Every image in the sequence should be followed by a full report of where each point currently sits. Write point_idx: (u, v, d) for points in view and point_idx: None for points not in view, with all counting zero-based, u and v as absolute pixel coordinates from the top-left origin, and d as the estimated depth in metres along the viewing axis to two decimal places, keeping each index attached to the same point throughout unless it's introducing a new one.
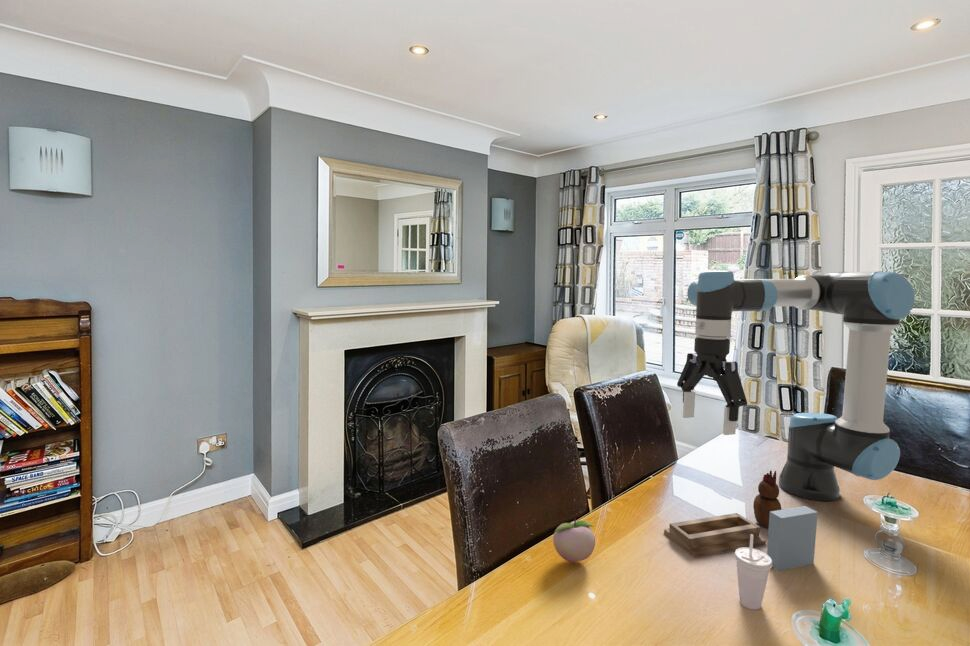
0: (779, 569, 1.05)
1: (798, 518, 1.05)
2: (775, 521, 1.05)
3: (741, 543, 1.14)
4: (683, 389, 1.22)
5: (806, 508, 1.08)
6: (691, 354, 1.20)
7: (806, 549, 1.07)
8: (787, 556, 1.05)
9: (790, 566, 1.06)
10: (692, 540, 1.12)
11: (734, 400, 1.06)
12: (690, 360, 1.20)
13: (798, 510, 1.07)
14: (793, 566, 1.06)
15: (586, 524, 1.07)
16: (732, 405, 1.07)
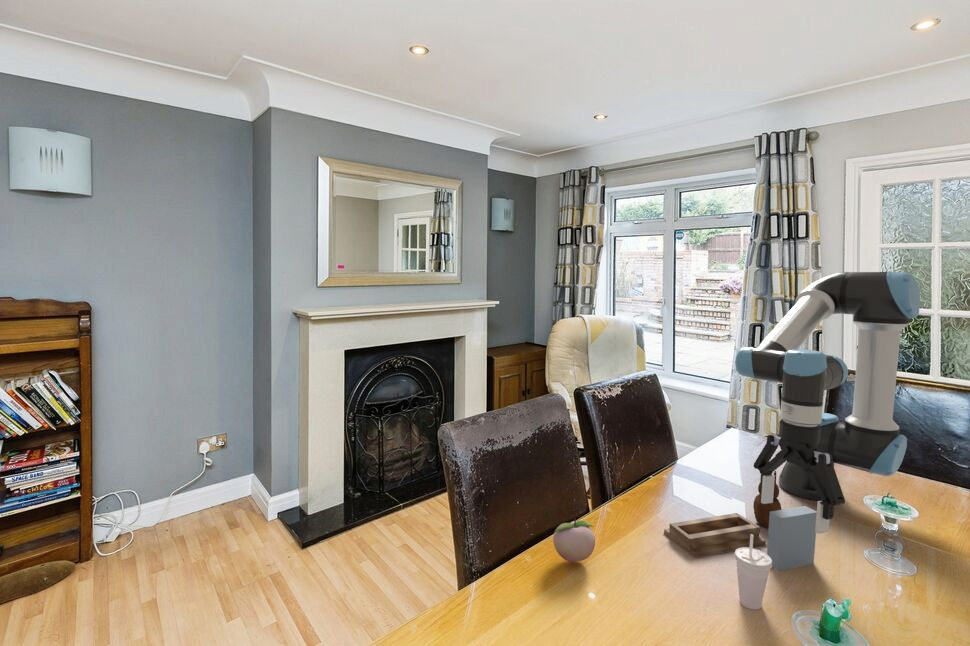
0: (779, 569, 1.05)
1: (798, 518, 1.05)
2: (775, 521, 1.05)
3: (741, 543, 1.14)
4: (761, 472, 1.13)
5: (806, 508, 1.08)
6: (772, 436, 1.10)
7: (806, 549, 1.07)
8: (787, 557, 1.05)
9: (790, 566, 1.06)
10: (692, 540, 1.12)
11: (831, 498, 0.97)
12: (771, 443, 1.10)
13: (798, 510, 1.07)
14: (793, 566, 1.06)
15: (586, 524, 1.07)
16: (827, 502, 0.98)
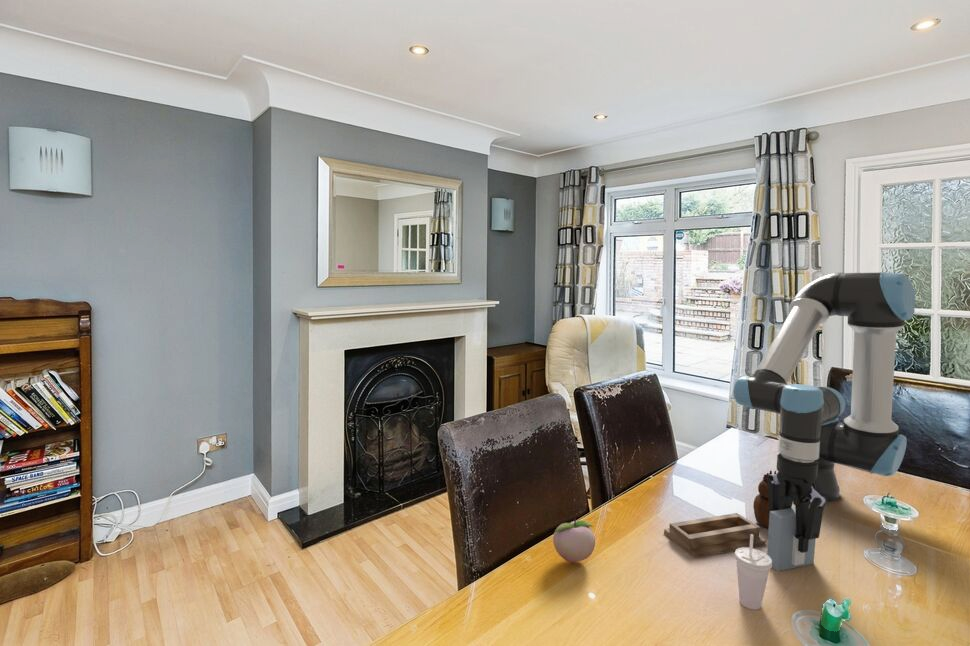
0: (779, 569, 1.05)
1: None
2: (775, 521, 1.05)
3: (741, 543, 1.14)
4: None
5: None
6: (770, 475, 1.11)
7: None
8: (787, 556, 1.05)
9: (790, 566, 1.06)
10: (692, 540, 1.12)
11: (807, 533, 1.02)
12: (772, 482, 1.10)
13: None
14: (793, 566, 1.06)
15: (586, 524, 1.07)
16: (802, 537, 1.04)
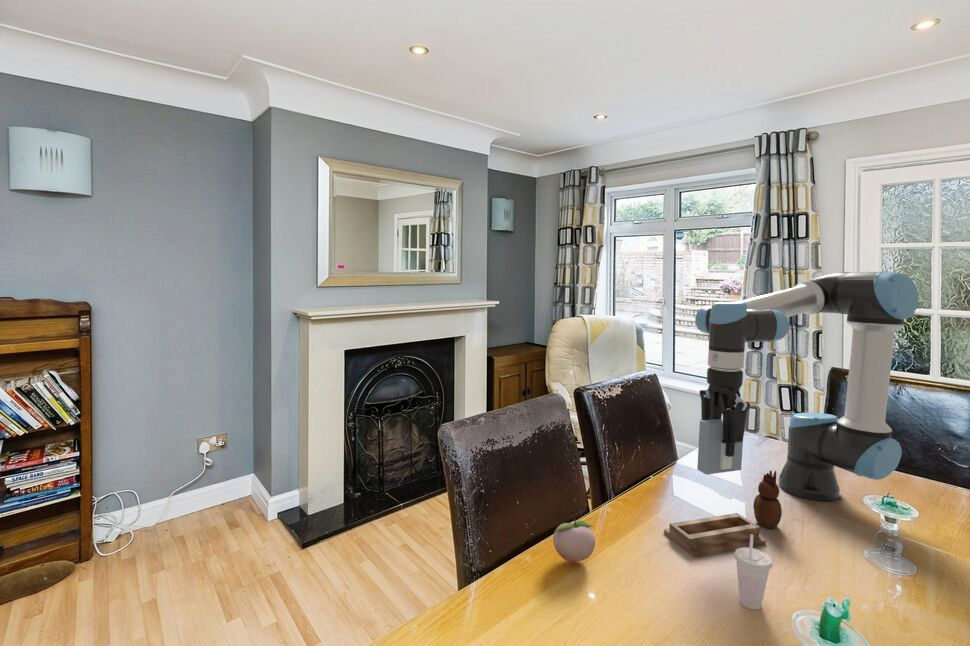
0: (708, 473, 1.13)
1: None
2: (704, 428, 1.13)
3: (741, 543, 1.14)
4: None
5: None
6: (703, 390, 1.19)
7: None
8: (715, 461, 1.13)
9: (718, 471, 1.14)
10: (692, 540, 1.12)
11: (732, 436, 1.10)
12: (704, 396, 1.18)
13: None
14: (721, 471, 1.14)
15: (586, 524, 1.07)
16: (728, 442, 1.12)
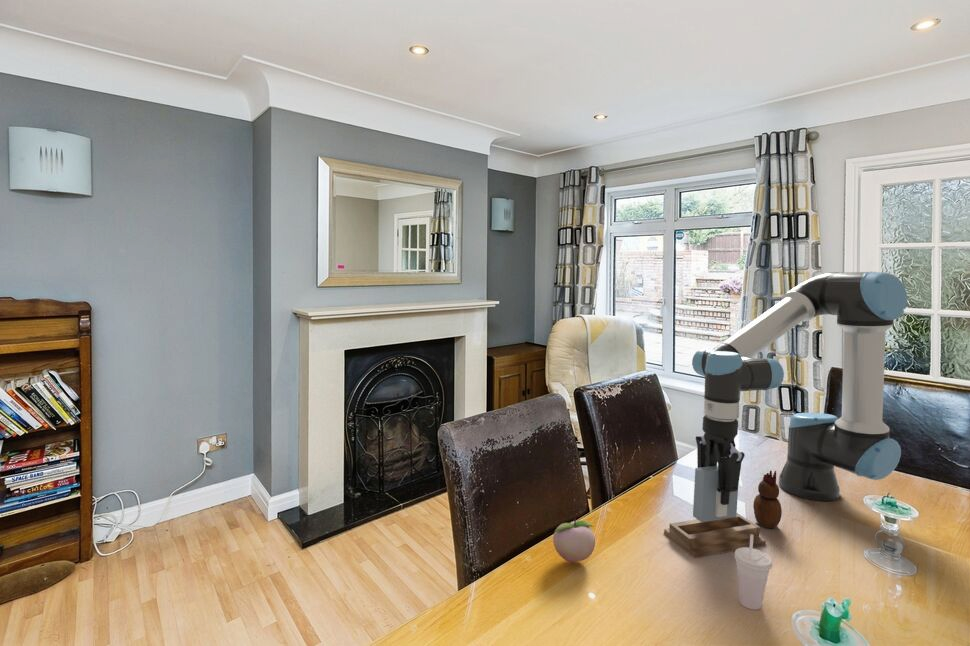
0: (703, 520, 1.14)
1: None
2: (700, 477, 1.15)
3: (741, 543, 1.14)
4: None
5: None
6: (699, 436, 1.21)
7: (729, 503, 1.16)
8: (711, 509, 1.15)
9: (713, 518, 1.15)
10: (692, 540, 1.12)
11: (726, 486, 1.12)
12: (700, 442, 1.20)
13: None
14: (716, 518, 1.16)
15: (586, 524, 1.07)
16: (723, 491, 1.13)
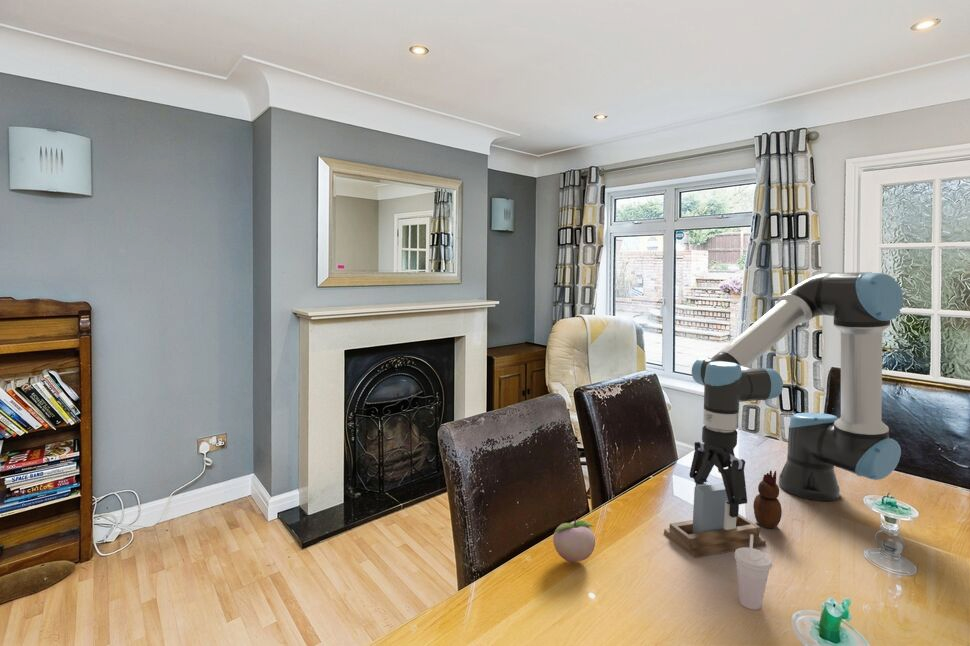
0: None
1: (720, 493, 1.15)
2: (699, 495, 1.15)
3: (741, 543, 1.14)
4: (696, 481, 1.21)
5: None
6: (698, 443, 1.21)
7: None
8: (710, 528, 1.15)
9: None
10: (692, 540, 1.12)
11: (735, 498, 1.09)
12: (698, 449, 1.21)
13: (721, 485, 1.17)
14: None
15: (586, 524, 1.07)
16: (732, 503, 1.10)
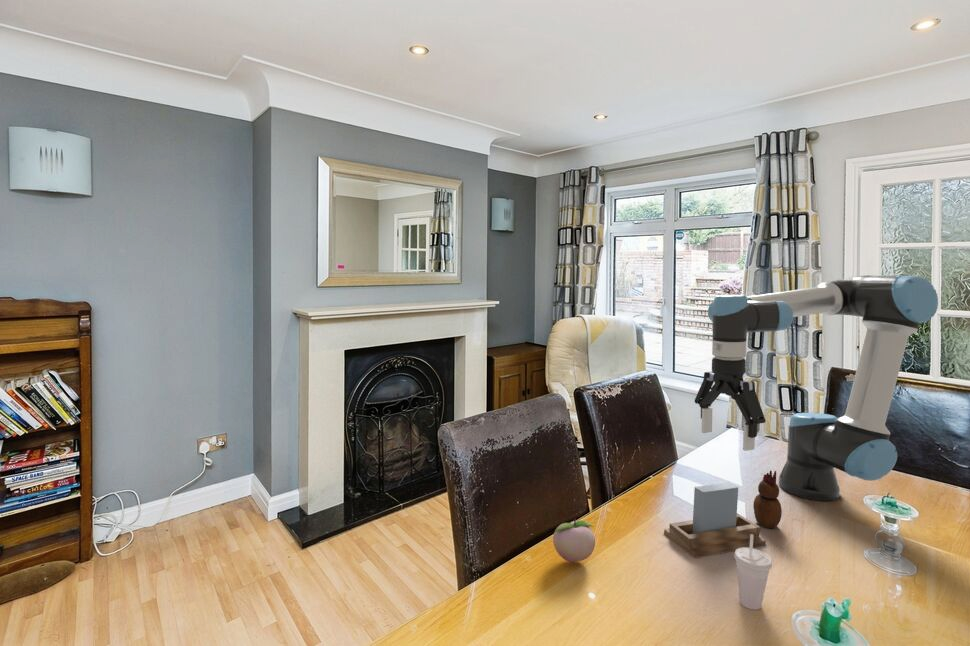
0: None
1: (720, 493, 1.15)
2: (699, 495, 1.15)
3: (741, 543, 1.14)
4: (701, 406, 1.28)
5: (729, 484, 1.18)
6: (708, 373, 1.26)
7: (728, 521, 1.17)
8: (710, 528, 1.15)
9: None
10: (692, 540, 1.12)
11: (753, 418, 1.13)
12: (707, 379, 1.26)
13: (721, 485, 1.17)
14: None
15: (586, 524, 1.07)
16: (751, 423, 1.14)
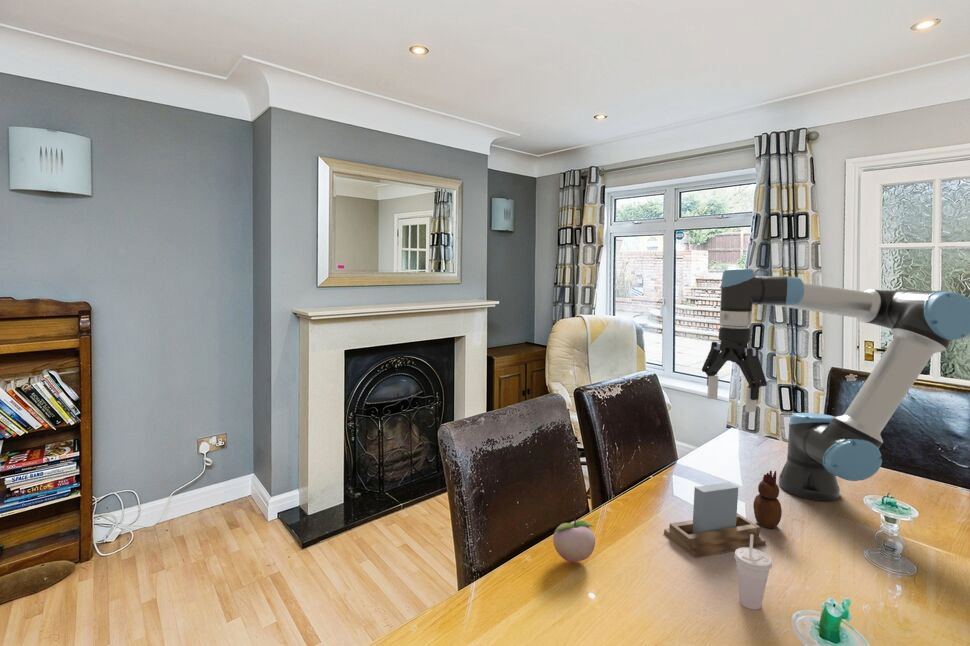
0: None
1: (720, 493, 1.15)
2: (699, 495, 1.15)
3: (741, 543, 1.14)
4: (707, 373, 1.38)
5: (729, 484, 1.18)
6: (715, 342, 1.35)
7: (728, 521, 1.17)
8: (710, 528, 1.15)
9: None
10: (692, 540, 1.12)
11: (755, 381, 1.22)
12: (714, 348, 1.35)
13: (721, 485, 1.17)
14: None
15: (586, 524, 1.07)
16: (753, 386, 1.23)
